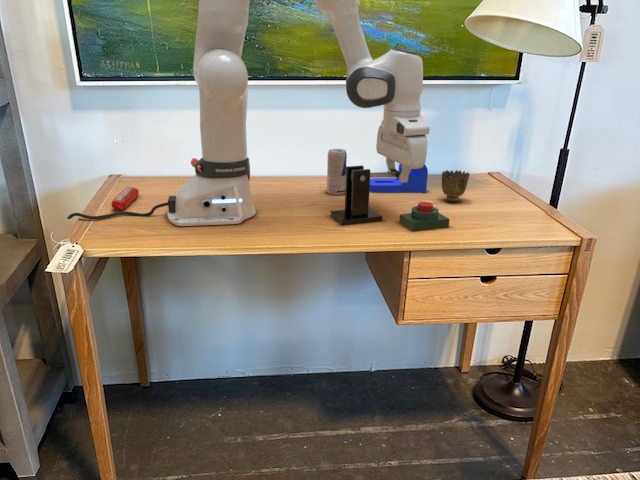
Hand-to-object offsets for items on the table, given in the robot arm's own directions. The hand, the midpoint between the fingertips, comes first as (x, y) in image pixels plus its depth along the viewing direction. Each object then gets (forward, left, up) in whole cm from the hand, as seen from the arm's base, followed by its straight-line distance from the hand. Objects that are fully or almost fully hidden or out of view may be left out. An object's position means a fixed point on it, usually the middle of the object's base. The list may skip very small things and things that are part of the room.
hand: (397, 178), depth 148 cm
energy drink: (-7, +24, -10) cm, 27 cm away
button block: (+3, -10, -9) cm, 14 cm away
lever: (-6, 0, 0) cm, 6 cm away
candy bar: (-65, +32, -10) cm, 73 cm away
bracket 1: (-11, 0, -9) cm, 14 cm away
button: (+3, -10, -6) cm, 12 cm away
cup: (+21, +6, -10) cm, 24 cm away
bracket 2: (+11, +23, -10) cm, 27 cm away
